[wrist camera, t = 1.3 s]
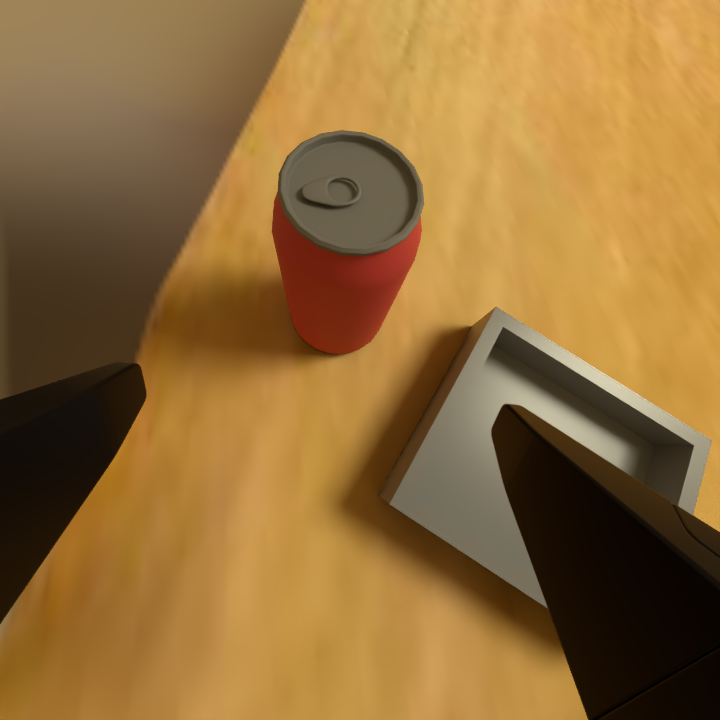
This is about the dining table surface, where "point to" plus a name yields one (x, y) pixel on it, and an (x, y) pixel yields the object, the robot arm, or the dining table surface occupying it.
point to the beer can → (345, 235)
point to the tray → (549, 402)
